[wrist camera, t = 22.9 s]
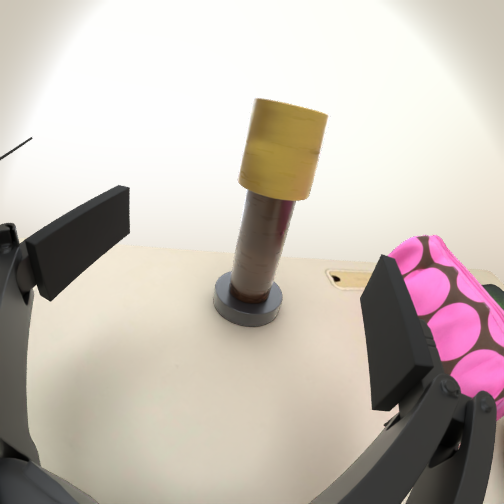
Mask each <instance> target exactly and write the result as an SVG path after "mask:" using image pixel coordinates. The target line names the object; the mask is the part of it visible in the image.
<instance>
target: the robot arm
mask: <svg viewBox="0 0 504 504" xmlns="http://www.w3.org/2000/svg"><path fill="white" fill-rule="evenodd" d="M31 139H32V137H31V138H29V139H28V140H26V141H25V142H23V143H22V144H20V145H19V146H17V147H16V148H14V149H13V150H11V151H9V152H8V153H6V154H5V155H3V156H2V157H0V160H1V159H3V158H4V157H6V156H7V155H9V154H10V153H12V152H13V151H15V150H16V149H18V148H19V147H21V146H22V145H24V144H25V143H26V142H28V141H30V140H31ZM129 189H130V188H129V187H125V186H120V185H118V186H116V187H114V188H112V189H110V190H108V191H107V192H104V193H102V194H100V195H99V196H97V197H95V198H93V199H91V200H89V201H88V202H86V203H84V204H82V205H80V206H78V207H77V208H75V209H73V210H71V211H70V212H68V213H66V214H65V215H63V216H61V217H60V218H58V219H56V220H55V221H53V222H51V223H50V224H48V225H47V226H45V227H43V228H42V229H40V230H39V231H37V232H36V233H34V234H33V235H31V236H30V237H28V238H27V239H25V240H24V241H23V242H21V243H20V244H19V240H18V235H17V231H16V226H15V225H14V224H13V223H5V224H1V225H0V504H99V503H97V502H96V501H95V500H94V499H93V498H92V497H91V496H89V495H88V494H86V493H84V492H83V491H81V490H80V489H78V488H77V487H75V486H73V485H72V484H71V483H69V482H68V481H66V480H64V479H62V478H60V477H58V476H57V475H55V474H53V473H51V472H49V471H47V470H46V469H44V468H42V467H41V465H40V460H39V455H38V451H37V449H36V446H35V444H34V442H33V441H32V439H31V437H30V434H29V428H28V416H27V397H26V369H27V349H28V336H29V327H30V319H31V311H32V305H33V299H34V291H33V289H32V288H33V287H34V286H35V285H37V287H38V290H39V293H40V295H41V296H42V297H44V298H45V299H47V300H49V301H50V302H51V301H52V300H53V299H54V298H55V297H56V296H57V295H58V294H59V293H60V292H61V291H62V290H64V289H65V288H66V287H67V286H68V285H69V284H70V283H71V282H72V281H73V280H74V279H76V278H77V277H78V276H79V275H80V274H81V273H82V272H83V271H85V270H86V269H87V268H88V267H89V266H90V265H92V264H93V263H94V262H95V261H96V260H97V259H99V258H100V257H101V256H102V255H103V254H105V253H106V252H107V251H108V250H109V249H111V248H112V247H113V246H114V245H115V244H117V243H118V242H119V241H120V240H122V239H123V238H124V237H125V236H127V235H128V234H129V233H130V221H129ZM360 301H361V308H362V314H363V321H364V328H365V336H366V344H367V353H368V363H369V373H370V386H371V401H372V410H379V411H390V410H391V409H392V408H394V407H395V406H396V405H397V404H399V413H397V414H396V415H395V416H394V417H393V418H391V419H390V420H389V421H388V422H387V423H385V424H384V426H385V428H384V430H383V431H382V432H381V433H380V434H379V436H378V437H377V438H376V439H375V440H374V441H373V443H372V444H371V445H370V446H369V447H368V448H367V449H366V450H365V452H364V453H363V454H362V455H361V456H360V457H359V458H358V459H357V460H356V461H355V462H354V463H353V464H352V465H351V466H350V467H349V468H348V469H347V470H346V471H345V472H344V473H343V474H342V475H341V476H340V477H339V478H338V479H337V480H336V481H335V482H333V483H332V484H331V485H330V486H329V487H328V488H327V489H326V490H324V491H323V492H322V493H321V494H320V495H319V496H317V497H316V498H315V499H314V500H313V501H311V502H310V503H309V504H401V503H402V501H403V500H404V499H405V497H406V496H407V494H408V493H409V492H410V490H411V489H412V490H411V493H410V495H409V497H408V499H407V502H406V504H483V501H484V497H485V493H486V489H487V485H488V480H489V475H490V470H491V464H492V458H493V451H494V443H495V433H496V419H497V407H496V403H495V400H494V398H493V396H492V395H491V394H489V393H488V392H486V391H484V390H483V391H479V392H478V393H477V394H476V395H475V396H474V397H473V398H471V397H469V396H467V395H464V394H462V393H461V389H460V386H459V384H458V382H457V381H456V380H455V379H454V378H453V377H452V376H450V375H449V374H445V372H444V369H443V365H442V362H441V359H440V355H439V352H438V349H437V348H436V343H435V340H433V339H434V337H433V335H432V332H431V329H430V328H429V326H428V325H427V323H426V322H425V321H424V320H423V319H419V318H418V315H417V312H416V309H415V307H414V304H413V301H412V299H411V296H410V293H409V291H408V288H407V286H406V283H405V281H404V279H403V276H402V274H401V271H400V269H399V267H398V265H397V262H396V260H395V258H392V257H389V256H385V255H381V257H380V259H379V261H378V263H377V265H376V267H375V269H374V271H373V273H372V276H371V278H370V280H369V282H368V284H367V286H366V288H365V290H364V292H363V294H362V296H361V297H360ZM459 443H461V445H460V448H459V449H458V446H459ZM412 487H413V488H412Z"/></svg>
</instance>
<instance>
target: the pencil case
mask: <svg viewBox="0 0 504 504" xmlns="http://www.w3.org/2000/svg"><path fill="white" fill-rule="evenodd" d="M388 256H389V257H392V258H395V260H396V262H397V265H398V267H399V269H400V271H401V274H402V276H403V279H404V281H405V283H406V286H407V288H408V291H409V293H410V296H411V299H412V301H413V304H414V307H415V309H416V312H417V315H418V318H419V319H423V320H424V321H425V322H426V323H427V325H428V326H429V328H430V329H431V332H432V335H433V337H434V339H433V340H435V343H436V348H437V349H438V352H439V355H440V359H441V362H442V365H443V369H444V372H445V374H449V375H450V376H452V377H453V378H454V379H455V380H456V381H457V382H458V384H459V386H460V389H461V393H462V394H464V395H467V396H469V397H471V398H473V397H474V396H475V395H476V394H477V393H478V392H479V391H483V390H484V391H486V392H488V393H489V394H491V395H492V396H493V398H494V400H495V403H496V407H497V419H496V421H498V420H499V419H500V418H501V417H503V416H504V310H503V309H502V308H501V307H500V306H499V305H498V304H497V303H496V302H495V301H494V299H493V298H492V297H491V296H490V295H489V293H488V292H487V291H486V290H485V289H484V288H483V286H482V285H481V284H480V283H479V282H478V281H477V280H476V278H475V277H474V276H473V275H472V274H471V273H470V272H469V271H468V270H467V269H466V267H465V266H464V265H463V264H462V263H461V262H460V261H459V260H458V259H457V258H456V257H455V256H454V255H453V254H452V252H450V250H449V249H448V248H447V247H446V245H445V243H444V242H443V240H442V239H441V238H440V237H439V236H437V235H433V236H427V235H423V236H415V237H412V238H409V239H407V240H405V241H404V242H403V243H401V244H400V245H399V246H397V247H396V248H395V249H394V250H393V251H392V252H391V253H390V254H389V255H388Z"/></svg>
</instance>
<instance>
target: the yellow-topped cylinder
mask: <svg viewBox="0 0 504 504" xmlns="http://www.w3.org/2000/svg"><path fill="white" fill-rule="evenodd" d="M329 118H330V115H329V114H326V113H322V112H319V111H316V110H312V109H308V108H304V107H300V106H296V105H292V104H288V103H283V102H278V101H273V100H268V99H262V98H253V102H252V106H251V111H250V117H249V121H248V126H247V132H246V137H245V142H244V147H243V153H242V158H241V163H240V169H239V175H238V182H239V184H240V185H241V186H243V187H244V188H246V189H247V193H246V198H245V203H244V208H243V213H242V219H241V224H240V229H239V235H238V240H237V245H236V251H235V256H234V262H233V267H232V271H231V272H228V273H225V274H224V275H222V276H221V277H220V278H219V279H218V280H217V282H216V284H215V291H214V299H213V300H214V305H215V308H216V309H217V311H218V312H219V313H220V314H221V315H222V316H223V317H224V318H225V319H227V320H229V321H230V322H233V323H235V324H238V325H242V326H249V327H255V326H262V325H265V324H267V323H269V322H271V321H272V320H273V319H274V318H275V317H276V316H277V314H278V311H279V308H280V305H281V302H282V292H281V290H280V288H279V286H278V285H277V284H276V283H275V282H274V278H275V274H276V271H277V267H278V264H279V260H280V257H281V253H282V250H283V246H284V243H285V239H286V235H287V232H288V228H289V224H290V220H291V217H292V214H293V210H294V206H295V203H296V201H299V200H304V199H307V198H308V197H309V194H310V191H311V187H312V183H313V180H314V176H315V172H316V168H317V165H318V161H319V158H320V154H321V150H322V146H323V142H324V138H325V134H326V130H327V126H328V122H329Z"/></svg>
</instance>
